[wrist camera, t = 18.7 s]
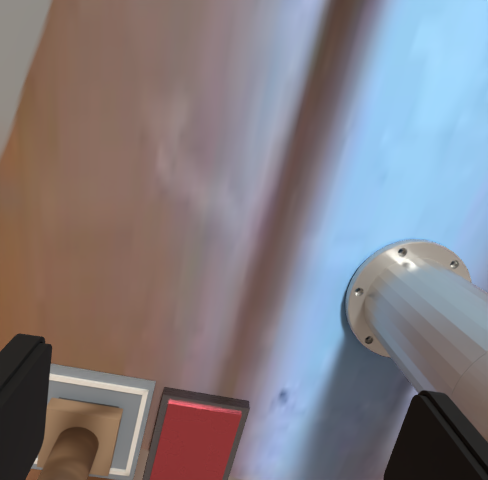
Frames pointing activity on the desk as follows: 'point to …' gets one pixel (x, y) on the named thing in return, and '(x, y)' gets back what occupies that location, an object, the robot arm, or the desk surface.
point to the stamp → (78, 439)
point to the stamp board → (110, 393)
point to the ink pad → (195, 436)
